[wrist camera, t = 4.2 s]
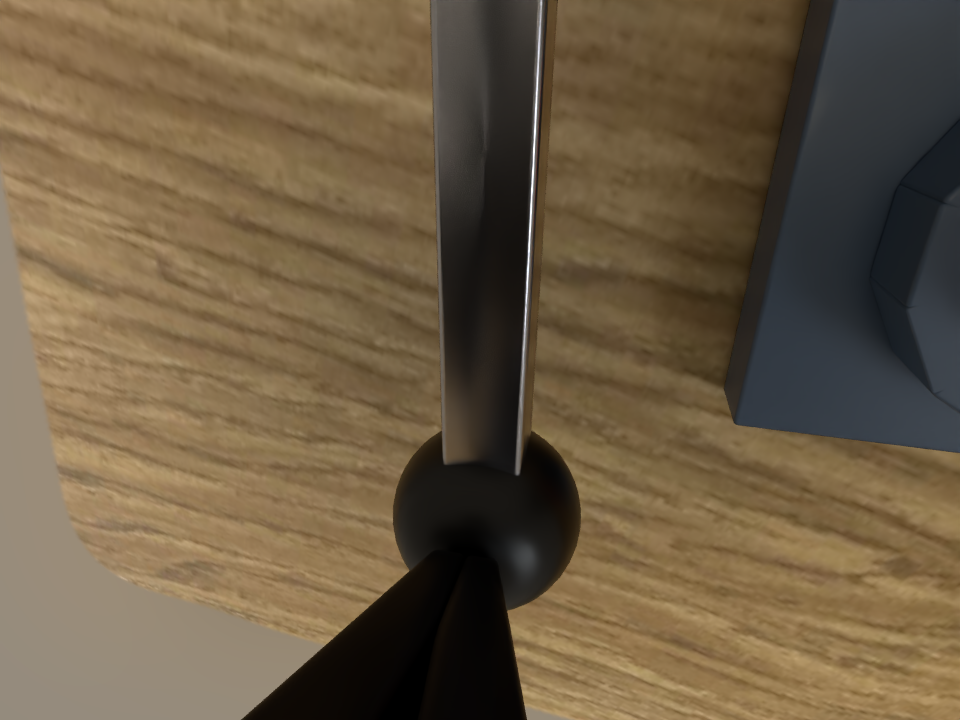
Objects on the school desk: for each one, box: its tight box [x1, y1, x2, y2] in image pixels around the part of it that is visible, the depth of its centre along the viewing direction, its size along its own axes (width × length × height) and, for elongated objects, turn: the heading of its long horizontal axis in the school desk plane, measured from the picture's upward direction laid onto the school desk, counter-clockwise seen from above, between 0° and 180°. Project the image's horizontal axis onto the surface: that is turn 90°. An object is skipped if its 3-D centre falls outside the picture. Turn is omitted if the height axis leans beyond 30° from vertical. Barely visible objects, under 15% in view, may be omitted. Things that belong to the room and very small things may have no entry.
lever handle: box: [393, 0, 581, 610], centre depth 6 cm, size 15×3×3 cm, turn 178°
